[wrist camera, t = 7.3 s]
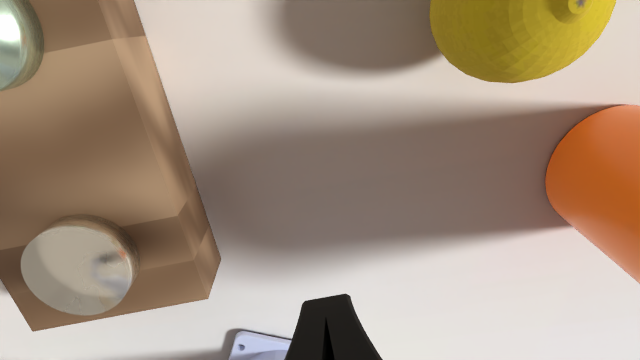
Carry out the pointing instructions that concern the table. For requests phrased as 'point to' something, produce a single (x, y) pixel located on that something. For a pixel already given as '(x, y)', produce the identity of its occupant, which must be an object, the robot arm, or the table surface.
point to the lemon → (516, 35)
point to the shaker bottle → (601, 183)
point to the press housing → (100, 159)
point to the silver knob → (81, 264)
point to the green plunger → (19, 43)
